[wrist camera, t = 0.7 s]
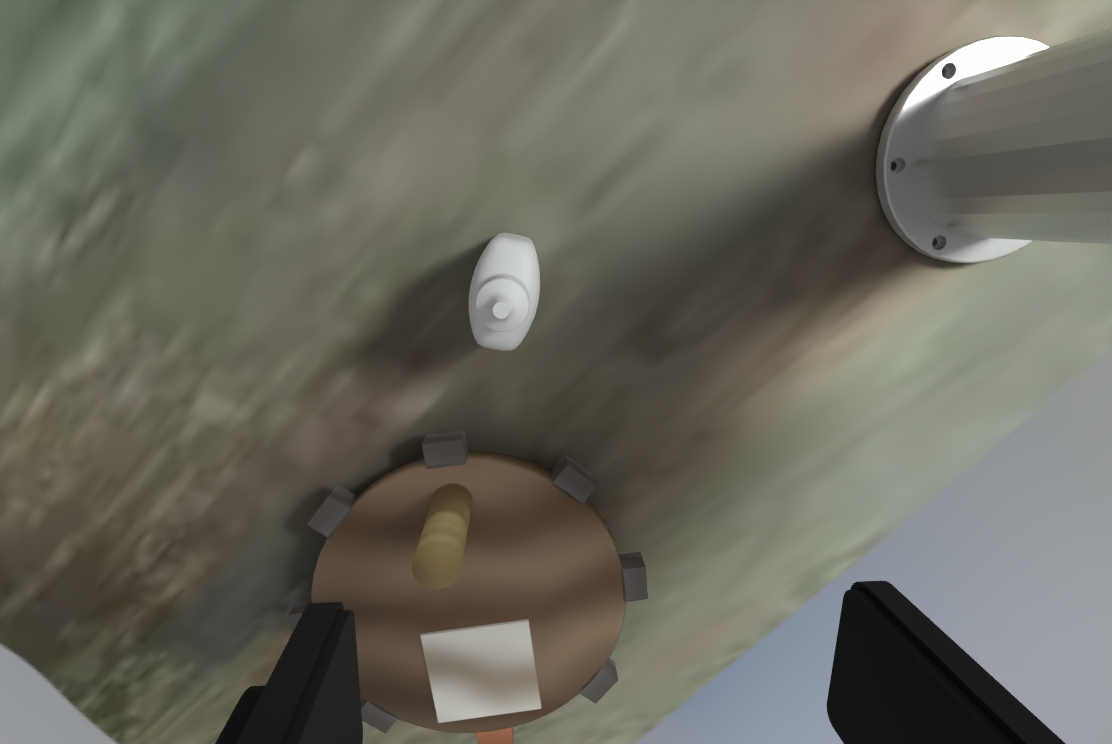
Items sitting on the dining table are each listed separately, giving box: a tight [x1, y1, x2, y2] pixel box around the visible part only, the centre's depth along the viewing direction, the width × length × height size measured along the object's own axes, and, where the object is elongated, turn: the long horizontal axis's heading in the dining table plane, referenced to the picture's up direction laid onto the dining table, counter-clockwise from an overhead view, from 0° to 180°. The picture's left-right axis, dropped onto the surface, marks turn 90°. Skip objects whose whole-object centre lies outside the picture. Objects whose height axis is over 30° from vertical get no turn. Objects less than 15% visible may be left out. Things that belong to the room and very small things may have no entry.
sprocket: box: [289, 429, 648, 744], centre depth 35 cm, size 23×23×9 cm
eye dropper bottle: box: [469, 233, 540, 351], centre depth 30 cm, size 4×6×12 cm
